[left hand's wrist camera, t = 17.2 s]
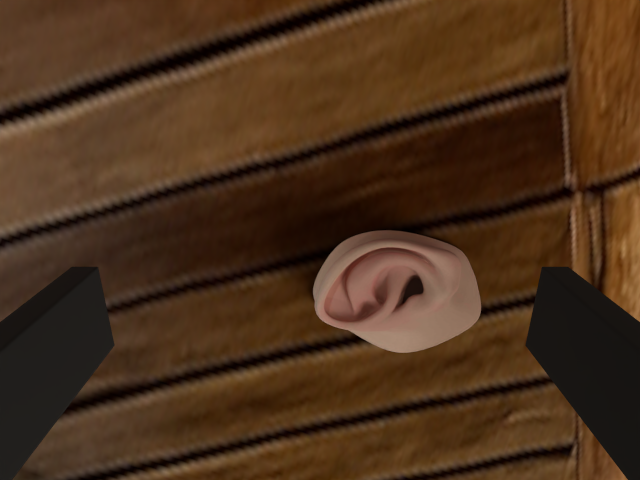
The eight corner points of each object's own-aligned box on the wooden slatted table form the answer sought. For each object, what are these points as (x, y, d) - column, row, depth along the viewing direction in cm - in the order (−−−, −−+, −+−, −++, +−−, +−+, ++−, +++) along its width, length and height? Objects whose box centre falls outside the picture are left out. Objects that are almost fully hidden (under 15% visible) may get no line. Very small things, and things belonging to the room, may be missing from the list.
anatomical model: (528, 323, 31) (410, 411, 34) (505, 297, 35) (400, 379, 38) (412, 199, 28) (291, 308, 31) (400, 186, 32) (293, 283, 34)
